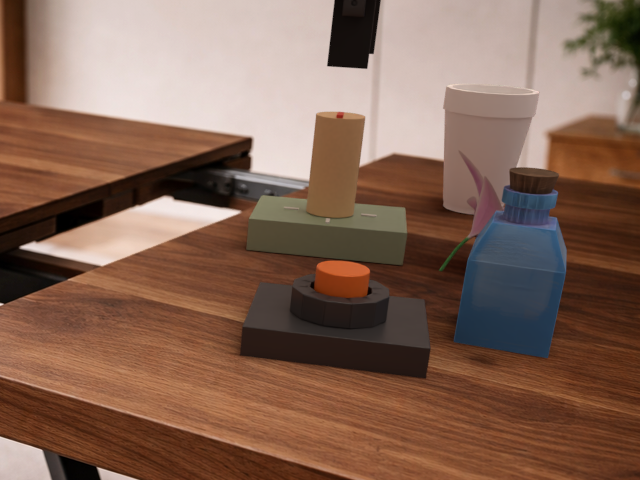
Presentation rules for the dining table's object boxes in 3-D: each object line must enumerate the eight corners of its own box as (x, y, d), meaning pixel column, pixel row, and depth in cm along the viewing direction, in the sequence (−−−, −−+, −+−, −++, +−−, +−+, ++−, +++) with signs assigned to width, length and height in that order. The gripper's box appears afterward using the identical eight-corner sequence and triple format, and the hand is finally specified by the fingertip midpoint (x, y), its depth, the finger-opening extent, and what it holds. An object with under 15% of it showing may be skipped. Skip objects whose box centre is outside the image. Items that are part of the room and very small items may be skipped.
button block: (420, 327, 70) (428, 275, 69) (425, 380, 61) (435, 321, 60) (257, 309, 73) (262, 258, 71) (239, 357, 64) (244, 300, 62)
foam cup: (530, 220, 102) (553, 96, 97) (443, 217, 102) (463, 93, 97) (498, 199, 111) (519, 85, 106) (419, 197, 111) (436, 82, 106)
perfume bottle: (453, 343, 67) (482, 174, 63) (462, 316, 73) (489, 159, 68) (547, 359, 65) (584, 186, 61) (549, 331, 70) (583, 169, 66)
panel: (400, 237, 94) (405, 205, 93) (402, 265, 85) (407, 231, 84) (259, 224, 97) (261, 193, 96) (246, 250, 88) (248, 216, 87)
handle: (308, 204, 92) (318, 107, 89) (354, 209, 91) (366, 110, 88) (304, 215, 88) (314, 113, 85) (352, 219, 87) (365, 116, 84)
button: (367, 287, 67) (370, 263, 66) (366, 303, 63) (370, 278, 63) (315, 281, 68) (318, 257, 67) (312, 297, 64) (314, 272, 64)
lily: (519, 316, 76) (592, 212, 74) (391, 239, 79) (458, 138, 77) (510, 315, 88) (573, 225, 86) (398, 248, 91) (457, 160, 89)
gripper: (460, -324, 52) (403, 79, 60) (444, -233, 74) (404, 50, 82) (320, -320, 54) (282, 70, 61) (346, -233, 76) (316, 45, 84)
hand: (352, 60), depth 72 cm, fingers open, 13 cm apart
